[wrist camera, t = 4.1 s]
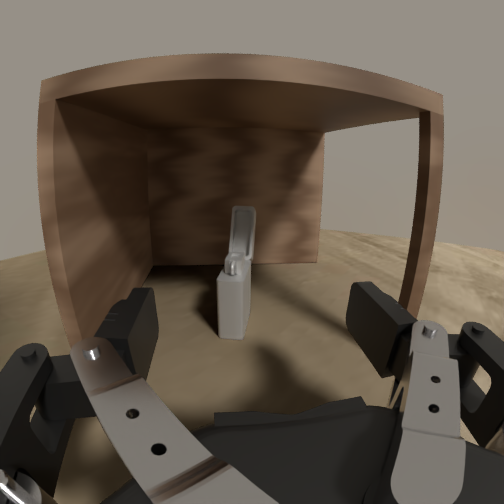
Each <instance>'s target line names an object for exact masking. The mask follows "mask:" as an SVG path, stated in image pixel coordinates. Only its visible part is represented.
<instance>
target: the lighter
mask: <svg viewBox="0 0 504 504" xmlns="http://www.w3.org/2000/svg"><path fill="white" fill-rule="evenodd" d="M255 225H256V211H255V208H254V207H253V206H234V207H233V208H232V219H231V231H230V243H229V254H228V255H227V257H226V259H225V266H224V267H223V269H222V271H221V273H220V274H219V276H218V278H217V280H216V282H217V312H218V335H219V337H220V338H225V339H235V340H242V339H244V335H245V331H246V327H247V323H248V319H249V315H250V294H251V261H253V255H254V240H255Z"/></svg>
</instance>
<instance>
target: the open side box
mask: <svg viewBox="0 0 504 504" xmlns="http://www.w3.org/2000/svg"><path fill="white" fill-rule="evenodd" d="M411 118H419V125H420V126H419V163H418V179H417V191H416V202H415V211H414V219H413V227H412V234H411V240H410V247H409V253H408V258H407V264H406V269H405V274H404V279H403V284H402V288H401V293H400V297H399V301H398V304H400V305H401V306H402V307H403V309H404V308H405V309H406V310H407V311H408V312H409V313H410V314H411V315H412V316H413V317H414V318H416V319H417V315H418V311H419V308H420V304H421V300H422V297H423V293H424V288H425V284H426V280H427V276H428V271H429V266H430V261H431V256H432V251H433V246H434V240H435V233H436V226H437V219H438V213H439V203H440V194H441V184H442V169H443V147H444V146H443V144H444V122H443V121H444V116H443V95H442V94H439V93H437V92H434V91H431V90H429V89H426V88H423V87H420V86H417V85H414V84H411V83H408V82H405V81H402V80H399V79H395V78H392V77H388V76H385V75H381V74H377V73H373V72H369V71H365V70H361V69H357V68H352V67H347V66H342V65H337V64H332V63H326V62H320V61H314V60H306V59H298V58H291V57H281V56H270V55H256V54H229V53H227V54H225V53H224V54H223V53H222V54H221V53H220V54H219V53H217V54H215V53H214V54H213V53H212V54H184V55H169V56H158V57H149V58H141V59H134V60H127V61H121V62H115V63H109V64H104V65H99V66H95V67H90V68H85V69H81V70H77V71H73V72H69V73H66V74H62V75H58V76H55V77H52V78H48V79H45V80H42V81H41V89H40V99H39V111H38V129H37V171H38V188H39V189H38V190H39V203H40V213H41V221H42V229H43V236H44V242H45V249H46V255H47V260H48V265H49V270H50V275H51V280H52V284H53V288H54V292H55V296H56V300H57V304H58V308H59V312H60V315H61V319H62V322H63V325H64V329H65V332H66V335H67V338H68V341H69V344H70V347H71V348H72V347H73V346H74V345H75V344H76V343H77V342H79V341H81V340H83V339H85V338H90V337H94V335H95V333H96V332H97V330H98V328H99V327H100V325H101V323H102V322H103V320H104V318H105V317H106V315H107V314H108V312H109V310H110V309H111V307H112V306H113V305H114V304H116V303H117V302H118V301H120V300H121V299H125V300H126V299H127V298H128V296H129V294H130V293H131V291H132V289H133V288H141V287H142V285H143V283H144V281H145V279H146V277H147V276H148V274H149V272H150V270H151V268H152V267H153V265H219V264H225V259H226V257H227V255H228V254H229V243H230V231H231V219H232V208H233V207H234V206H253V207H254V208H255V211H256V225H255V240H254V255H253V261H251V264H267V263H307V262H317V256H318V245H319V233H320V220H321V204H322V187H323V167H324V134H325V133H326V132H331V131H336V130H341V129H346V128H352V127H357V126H363V125H369V124H376V123H382V122H389V121H396V120H404V119H411Z"/></svg>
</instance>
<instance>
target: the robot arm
mask: <svg viewBox="0 0 504 504" xmlns="http://www.w3.org/2000/svg"><path fill="white" fill-rule="evenodd" d="M346 325H347V328H348V330H349V332H350V333H351V335H352V336H353V337H354V339H355V340H356V342H357V343H358V345H359V346H360V348H361V349H362V350H363V352H364V353H365V355H366V356H367V358H368V359H369V361H370V362H371V363H372V365H373V366H374V368H375V369H376V371H377V372H378V374H379V375H380V377H381V378H385V377H389V376H393V375H394V376H395V378H394V381H393V384H392V387H391V391H390V395H389V399H388V403H387V407H386V408H385V407H380V406H366V404H365V402H364V400H363V399H362V397H361V396H359V397H354V398H349V399H344V400H339V401H333V402H328V403H326V404H323V405H320V406H318V407H315V408H312V409H310V410H307V411H304V412H301V413H298V414H294V415H289V414H276V413H266V412H257V411H246V412H222V413H214V421H215V423H214V424H209V425H206V426H202V427H199V428H197V429H194V430H192V431H190V432H189V431H188V430H187V429H186V427H185V426H184V425H183V424H182V423H181V422H180V421H179V420H178V419H177V418H176V417H175V415H174V414H173V413H172V412H171V411H170V410H169V409H168V407H167V406H166V405H165V404H164V403H163V402H162V400H161V399H160V398H159V397H158V396H157V394H156V393H155V392H154V391H153V390H152V388H151V387H150V386H149V385H148V383H147V382H146V379H147V376H148V372H149V368H150V364H151V361H152V357H153V353H154V350H155V346H156V343H157V339H158V333H159V327H158V318H157V311H156V304H155V296H154V291H153V288H133V289H132V291H131V293H130V294H129V296H128V298H127V299H126V300H125V299H121V300H120V301H118V302H117V303H116V304H114V305H113V306H112V307H111V309H110V310H109V312H108V314H107V315H106V317H105V318H104V320H103V322H102V323H101V325H100V327H99V328H98V330H97V332H96V333H95V335H94V337H90V338H85V339H83V340H81V341H79V342H77V343H76V344H75V345H74V346H73V347H72V348H71V351H70V355H62V356H53V357H50V356H49V353H48V351H47V348H46V347H45V346H44V345H42V344H38V343H31V344H27V345H24V346H22V347H20V348H19V349H17V350H16V351H15V352H14V353H13V355H12V356H11V358H10V359H9V360H8V362H7V363H6V365H5V366H4V368H3V369H2V371H1V372H0V504H58V503H57V502H56V501H55V500H54V499H53V497H54V493H55V488H56V484H57V480H58V476H59V472H60V468H61V464H62V461H63V457H64V454H65V450H66V447H67V443H68V440H69V437H70V433H71V430H72V427H73V424H74V421H75V418H85V417H95V416H97V418H98V420H99V422H100V424H101V426H102V428H103V430H104V432H105V433H106V435H107V437H108V439H109V441H110V442H111V444H112V446H113V447H114V449H115V451H116V452H117V454H118V456H119V457H120V459H121V461H122V462H123V464H124V465H125V467H126V468H127V470H128V472H129V473H130V475H131V476H132V479H130V480H129V481H128V482H127V483H125V484H124V485H123V486H122V487H120V488H119V489H118V490H117V491H115V492H114V493H113V494H112V495H110V496H109V497H108V498H106V499H105V500H104V501H102V502H101V503H100V504H504V342H503V341H502V340H501V339H500V338H499V337H498V336H496V335H495V334H494V333H493V332H492V331H491V330H489V329H488V328H487V327H486V326H484V325H482V324H480V323H476V322H466V323H464V324H463V326H462V329H461V332H460V334H447V331H446V329H445V328H444V327H443V326H441V325H440V324H438V323H435V322H432V321H428V320H421V321H418V320H417V319H416V318H414V317H413V316H412V315H411V314H410V313H409V312H408V311H407V310H406V309H405V308H404V309H403V307H402V306H401V305H400V304H398V302H397V301H396V300H395V299H394V298H392V297H391V296H389V295H387V294H385V293H383V292H382V291H381V290H380V289H379V288H378V287H377V286H375V285H374V284H373V283H372V282H370V281H368V282H354V283H353V284H352V286H351V290H350V296H349V302H348V307H347V313H346ZM479 365H481V366H482V367H483V369H484V370H485V371H486V372H487V373H488V374H489V375H490V377H491V387H490V389H489V391H488V393H487V394H486V395H485V393H484V392H483V391H482V390H481V389H480V387H479V386H478V385H477V384H476V383H475V381H474V380H473V377H474V375H475V373H476V371H477V369H478V367H479ZM34 405H35V407H36V411H35V413H34V415H33V417H32V419H31V422H30V414H31V411H32V409H33V407H34ZM460 418H461V419H462V421H463V422H464V424H465V425H466V427H467V428H468V430H469V431H470V433H471V434H472V436H473V437H474V439H475V440H476V442H477V443H478V445H479V446H478V445H475V444H473V443H470V442H468V441H465V440H464V438H462V437H461V436H460Z"/></svg>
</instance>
